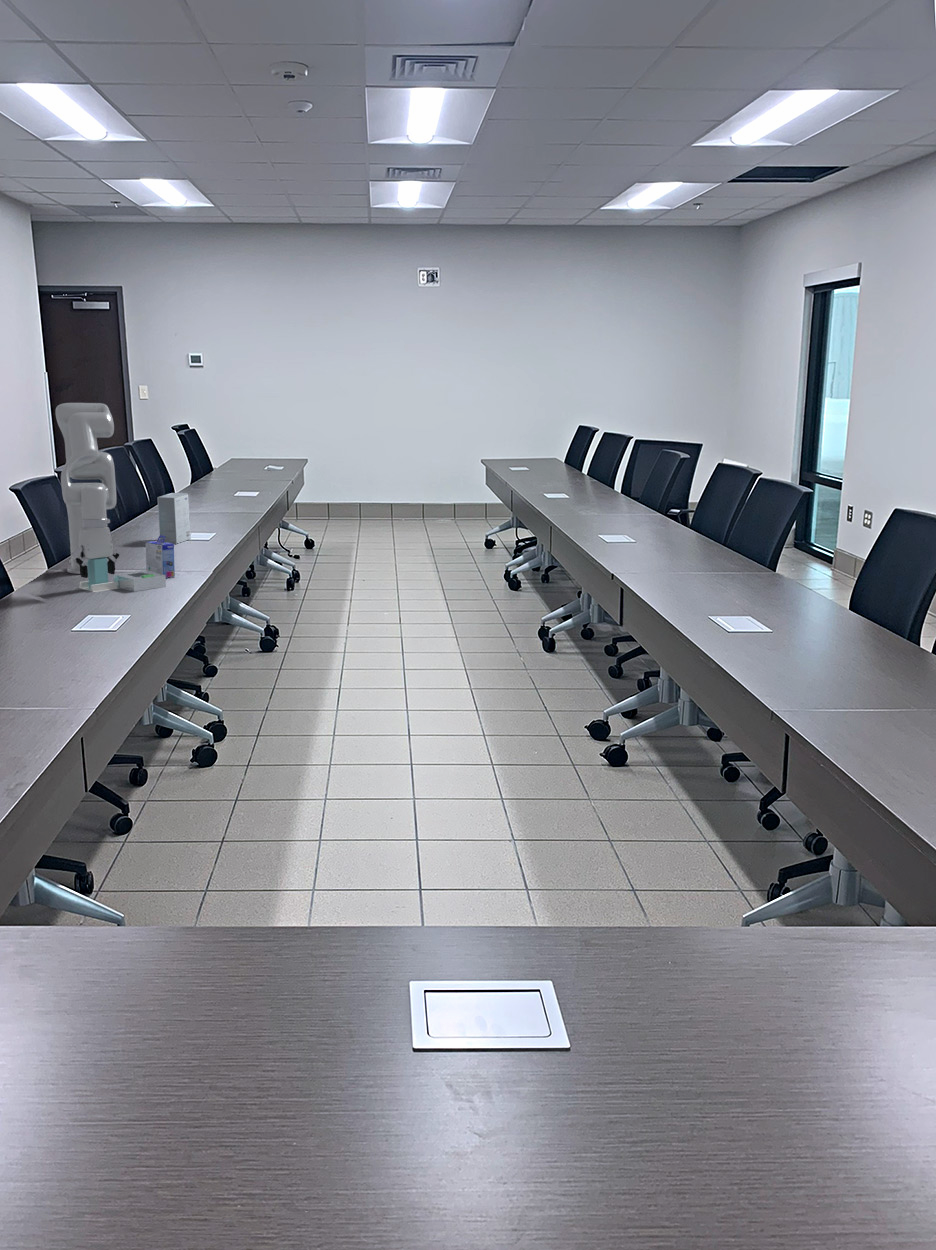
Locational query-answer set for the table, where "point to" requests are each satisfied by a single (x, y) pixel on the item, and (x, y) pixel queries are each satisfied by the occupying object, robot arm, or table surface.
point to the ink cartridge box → (160, 557)
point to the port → (140, 580)
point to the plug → (97, 571)
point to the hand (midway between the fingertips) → (98, 575)
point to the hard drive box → (174, 517)
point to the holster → (98, 586)
